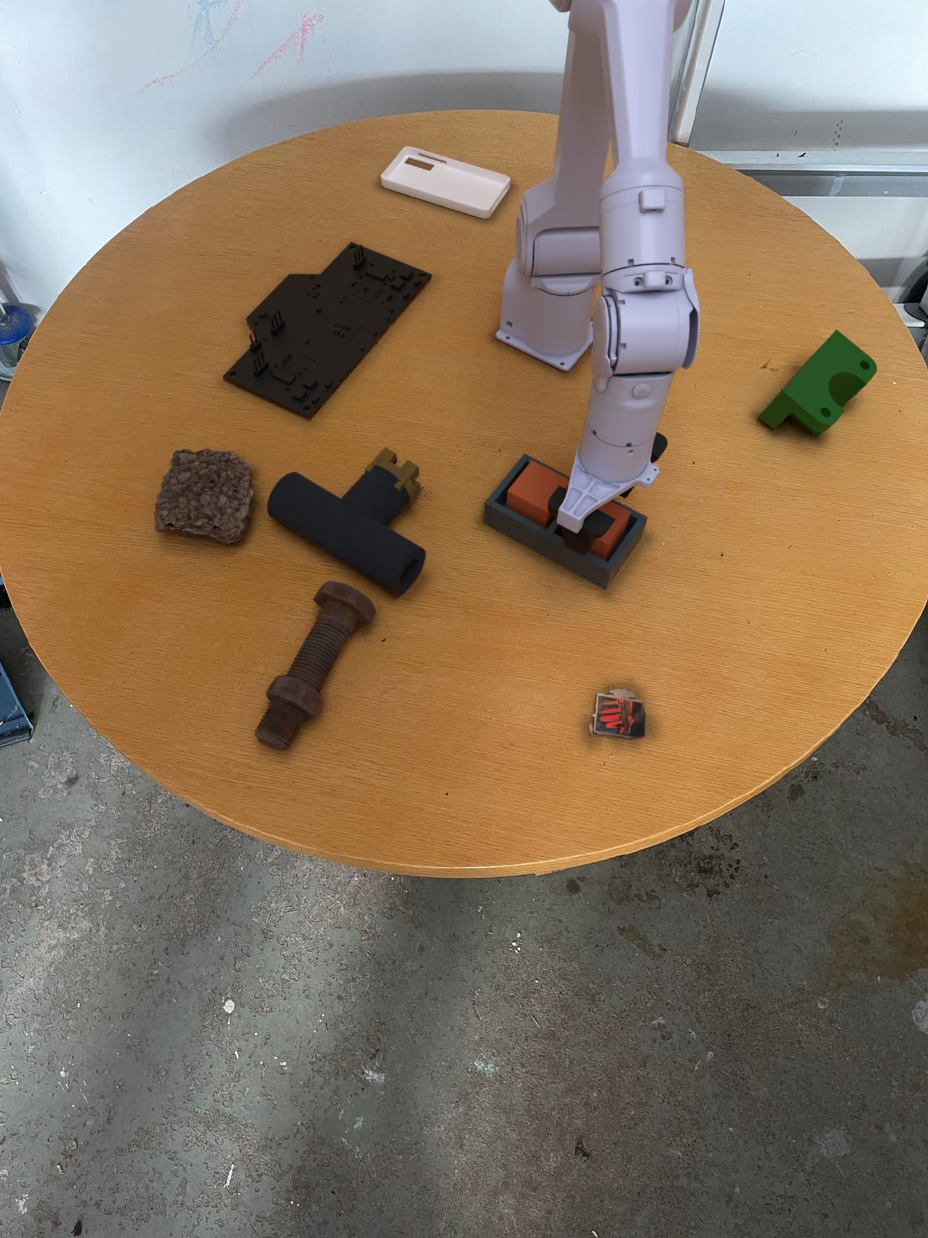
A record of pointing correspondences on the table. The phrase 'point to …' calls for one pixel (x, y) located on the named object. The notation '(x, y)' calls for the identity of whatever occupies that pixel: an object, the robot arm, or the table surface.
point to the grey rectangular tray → (558, 533)
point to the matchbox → (619, 715)
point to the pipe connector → (357, 520)
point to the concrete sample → (206, 496)
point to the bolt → (313, 663)
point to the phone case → (447, 183)
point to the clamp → (822, 386)
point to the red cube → (611, 531)
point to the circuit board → (323, 327)
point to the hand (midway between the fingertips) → (597, 519)
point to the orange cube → (535, 493)
